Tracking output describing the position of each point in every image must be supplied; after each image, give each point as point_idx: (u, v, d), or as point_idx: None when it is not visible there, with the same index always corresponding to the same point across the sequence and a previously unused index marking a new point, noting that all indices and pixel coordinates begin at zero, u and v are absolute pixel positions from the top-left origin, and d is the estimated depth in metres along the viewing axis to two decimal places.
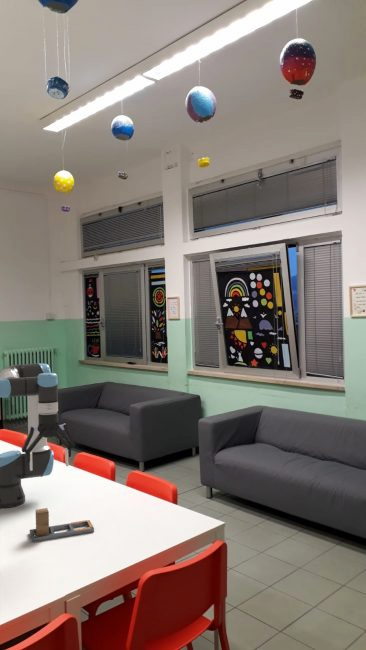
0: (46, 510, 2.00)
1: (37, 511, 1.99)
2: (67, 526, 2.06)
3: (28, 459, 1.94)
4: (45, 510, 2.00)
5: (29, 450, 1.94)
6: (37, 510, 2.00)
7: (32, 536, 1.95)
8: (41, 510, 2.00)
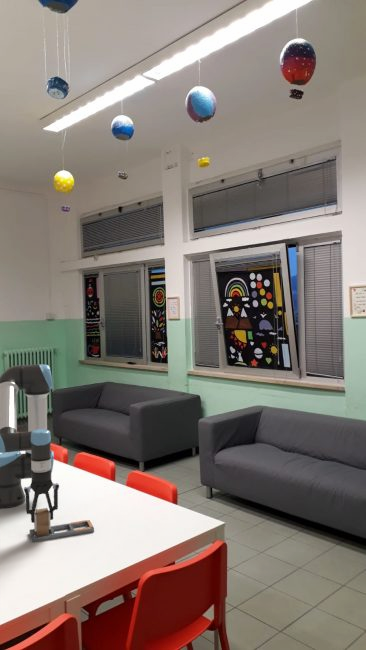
0: (46, 510, 2.00)
1: (37, 511, 1.99)
2: (67, 526, 2.06)
3: (32, 520, 1.97)
4: (45, 510, 2.00)
5: (33, 511, 1.97)
6: (37, 510, 2.00)
7: (32, 536, 1.95)
8: (41, 510, 2.00)
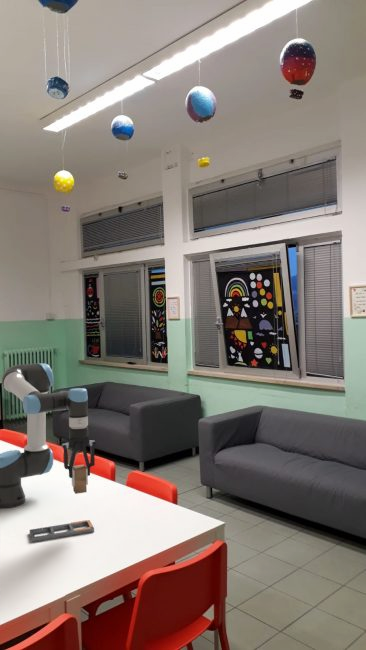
0: (83, 466, 2.05)
1: (75, 467, 2.04)
2: (67, 526, 2.06)
3: (70, 475, 2.03)
4: (82, 466, 2.05)
5: (71, 467, 2.02)
6: (74, 466, 2.05)
7: (32, 536, 1.95)
8: (78, 466, 2.05)
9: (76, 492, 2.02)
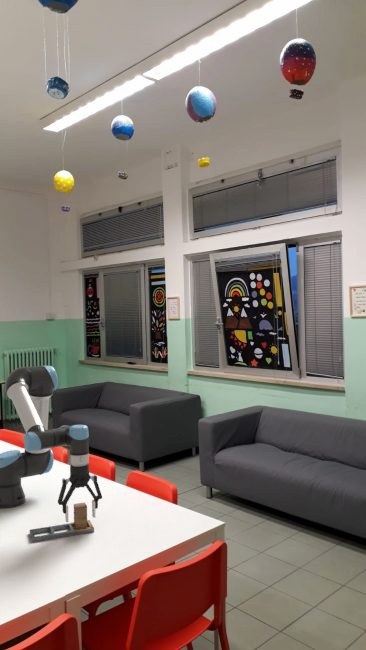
0: (84, 504, 2.05)
1: (75, 505, 2.04)
2: (67, 526, 2.06)
3: (64, 511, 2.02)
4: (83, 504, 2.05)
5: (65, 502, 2.02)
6: (75, 504, 2.05)
7: (32, 536, 1.95)
8: (79, 504, 2.05)
9: None
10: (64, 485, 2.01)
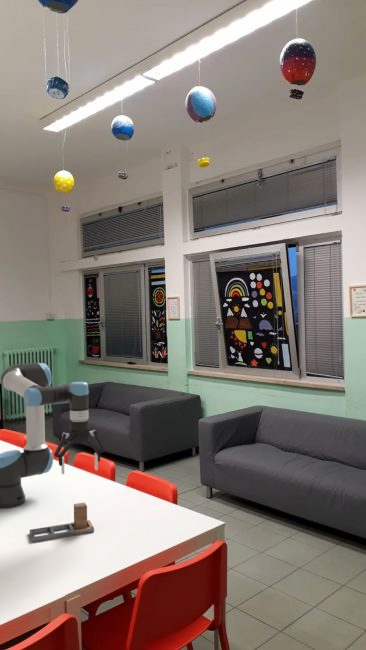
0: (84, 504, 2.05)
1: (75, 505, 2.04)
2: (67, 526, 2.06)
3: (60, 463, 2.05)
4: (83, 504, 2.05)
5: (61, 455, 2.04)
6: (75, 504, 2.05)
7: (32, 536, 1.95)
8: (79, 504, 2.05)
9: None
10: (63, 438, 2.04)
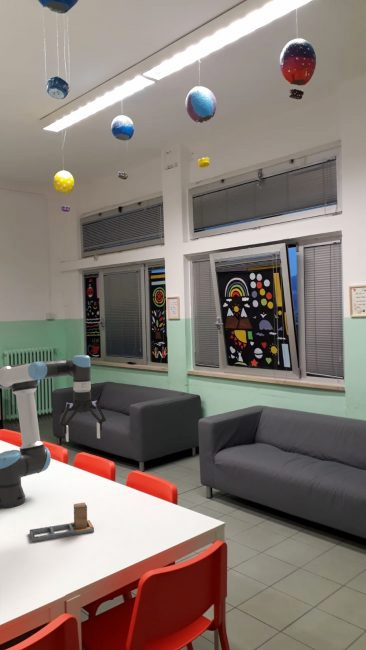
0: (84, 504, 2.05)
1: (75, 505, 2.04)
2: (67, 526, 2.06)
3: (65, 431, 2.18)
4: (83, 504, 2.05)
5: (65, 423, 2.17)
6: (75, 504, 2.05)
7: (32, 536, 1.95)
8: (79, 504, 2.05)
9: None
10: (67, 408, 2.18)
